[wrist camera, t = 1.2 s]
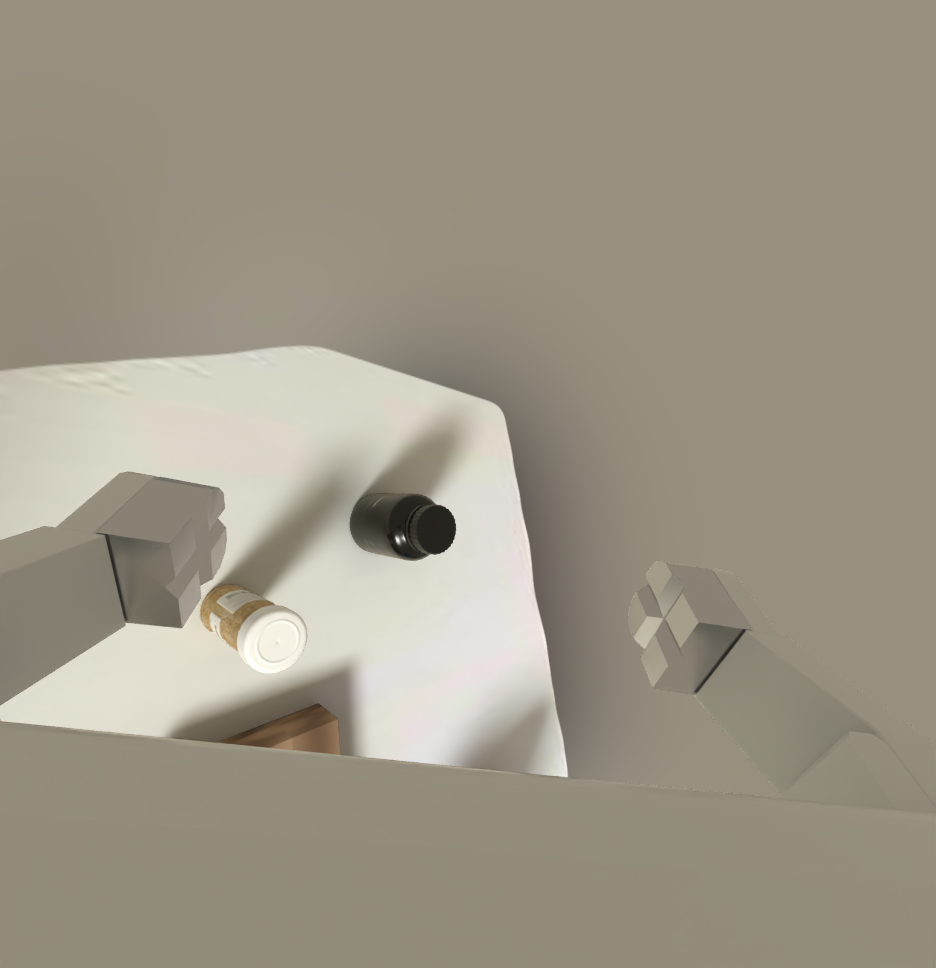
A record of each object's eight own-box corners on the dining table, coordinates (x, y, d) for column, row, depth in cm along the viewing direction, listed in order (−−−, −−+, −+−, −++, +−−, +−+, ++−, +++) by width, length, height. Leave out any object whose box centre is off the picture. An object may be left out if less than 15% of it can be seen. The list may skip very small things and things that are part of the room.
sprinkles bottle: (191, 629, 42) (234, 672, 32) (209, 578, 43) (256, 604, 33) (243, 636, 45) (298, 677, 35) (259, 588, 46) (317, 614, 36)
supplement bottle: (363, 482, 54) (425, 480, 45) (408, 509, 58) (474, 511, 48) (336, 538, 51) (397, 548, 42) (385, 562, 55) (450, 575, 46)
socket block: (148, 962, 40) (157, 1006, 36) (132, 775, 39) (140, 801, 36) (329, 852, 50) (349, 878, 47) (318, 703, 50) (337, 719, 46)
